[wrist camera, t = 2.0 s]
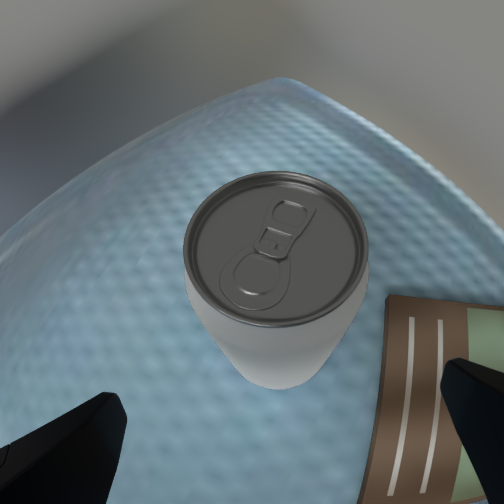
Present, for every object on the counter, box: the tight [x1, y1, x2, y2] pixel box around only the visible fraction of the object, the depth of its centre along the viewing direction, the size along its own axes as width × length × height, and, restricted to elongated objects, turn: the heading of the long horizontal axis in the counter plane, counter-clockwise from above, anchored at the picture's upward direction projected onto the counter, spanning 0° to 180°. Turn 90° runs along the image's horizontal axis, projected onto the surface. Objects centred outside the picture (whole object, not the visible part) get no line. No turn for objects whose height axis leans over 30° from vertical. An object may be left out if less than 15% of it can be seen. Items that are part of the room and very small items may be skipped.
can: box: [183, 171, 369, 389], centre depth 14 cm, size 6×6×12 cm
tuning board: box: [357, 294, 504, 504], centre depth 14 cm, size 15×17×1 cm
